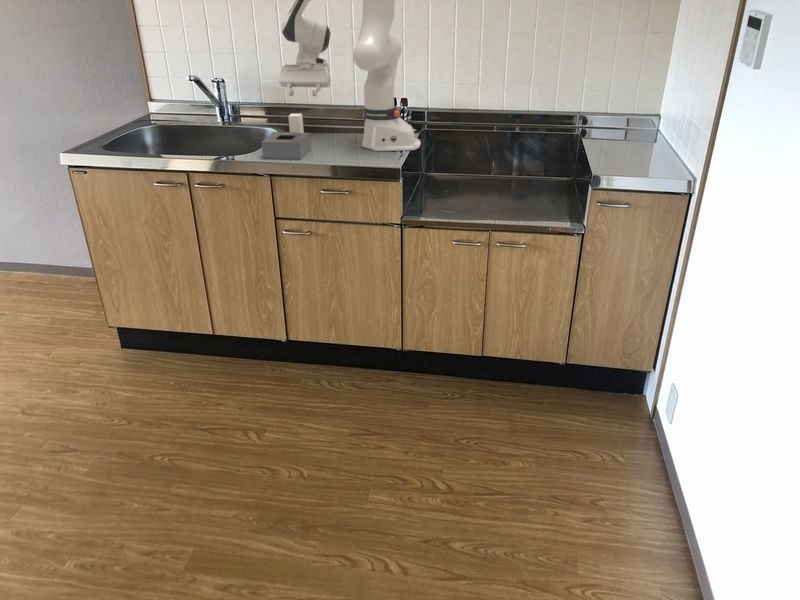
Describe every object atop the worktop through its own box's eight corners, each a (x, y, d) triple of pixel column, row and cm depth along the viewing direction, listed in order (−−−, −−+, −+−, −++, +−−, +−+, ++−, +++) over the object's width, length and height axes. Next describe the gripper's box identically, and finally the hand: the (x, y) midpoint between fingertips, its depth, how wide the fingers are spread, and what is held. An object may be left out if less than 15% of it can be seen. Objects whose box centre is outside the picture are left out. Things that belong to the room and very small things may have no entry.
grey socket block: (310, 149, 252) (309, 133, 249) (300, 159, 240) (299, 142, 237) (274, 148, 254) (273, 132, 251) (263, 158, 241) (261, 141, 239)
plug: (304, 142, 260) (302, 113, 255) (301, 145, 257) (299, 116, 252) (294, 142, 261) (291, 113, 256) (290, 145, 257) (288, 116, 252)
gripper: (279, 59, 264) (274, 90, 260) (330, 60, 261) (325, 90, 257) (283, 69, 270) (279, 99, 266) (333, 70, 267) (329, 100, 263)
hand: (302, 95), depth 261 cm, fingers open, 8 cm apart
